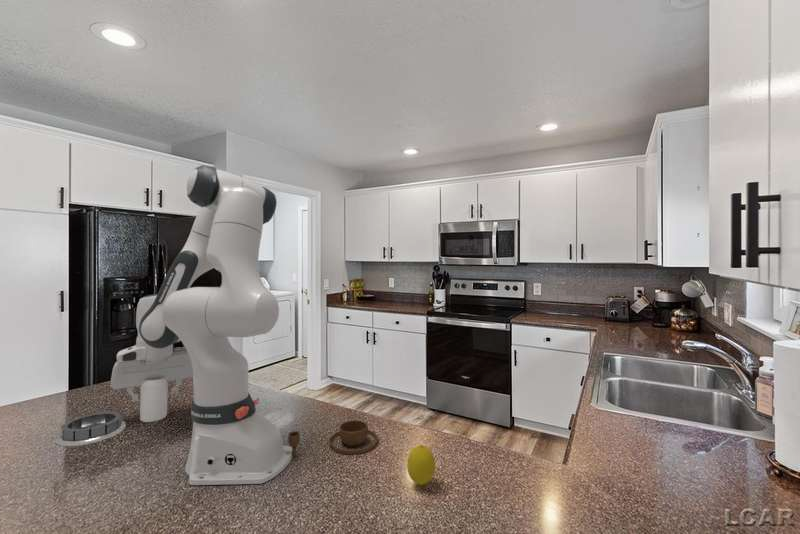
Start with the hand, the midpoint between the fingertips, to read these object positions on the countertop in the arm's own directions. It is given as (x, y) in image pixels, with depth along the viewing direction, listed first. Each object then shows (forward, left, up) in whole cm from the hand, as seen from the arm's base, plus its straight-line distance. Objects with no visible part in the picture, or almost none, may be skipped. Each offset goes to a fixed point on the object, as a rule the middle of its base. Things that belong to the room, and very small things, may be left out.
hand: (155, 398), depth 106 cm
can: (0, +1, -6) cm, 6 cm away
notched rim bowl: (+8, +11, -6) cm, 15 cm away
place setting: (-57, +6, -7) cm, 57 cm away
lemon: (-79, +20, -6) cm, 82 cm away
